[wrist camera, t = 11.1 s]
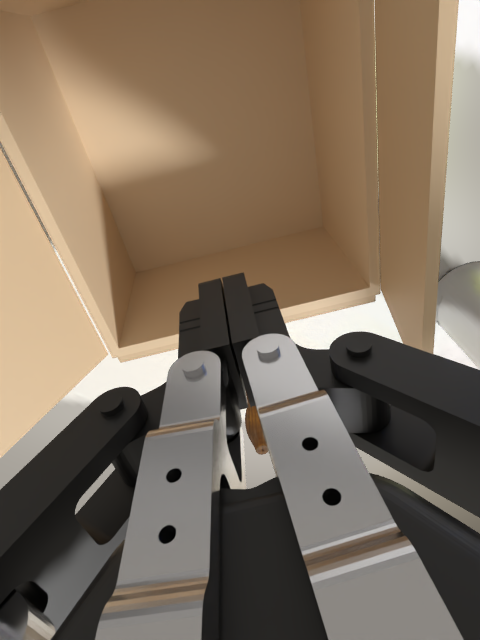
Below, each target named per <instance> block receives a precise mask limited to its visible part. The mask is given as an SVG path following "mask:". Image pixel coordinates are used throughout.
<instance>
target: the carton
mask: <svg viewBox="0 0 480 640" xmlns="http://www.w3.org/2000/svg"><path fill="white" fill-rule="evenodd" d="M376 122H377V121H376V76H375V30H374V0H0V142H1V143H2V145H3V147H4V149H5V151H6V153H7V155H8V157H9V159H10V161H11V163H12V165H13V167H14V169H15V171H16V172H17V174H18V176H19V178H20V180H21V182H22V184H23V186H24V188H25V190H26V192H27V194H28V196H29V198H30V199H31V201H32V203H33V205H34V207H35V209H36V211H37V213H38V215H39V217H40V219H41V221H42V223H43V225H44V226H45V228H46V230H47V232H48V234H49V236H50V238H51V240H52V242H53V244H54V246H55V248H56V250H57V252H58V253H59V255H60V257H61V259H62V261H63V263H64V265H65V267H66V269H67V271H68V273H69V275H70V277H71V279H72V280H73V282H74V284H75V286H76V288H77V290H78V292H79V294H80V296H81V298H82V300H83V302H84V304H85V306H86V307H87V309H88V311H89V313H90V315H91V317H92V319H93V321H94V323H95V325H96V327H97V329H98V331H99V333H100V335H101V336H102V338H103V340H104V342H105V344H106V346H107V348H108V350H109V352H110V354H111V356H112V358H116V357H118V359H119V361H120V363H121V362H125V361H130V360H134V359H138V358H142V357H146V356H150V355H154V354H159V353H163V352H167V351H171V350H175V349H178V346H179V312H180V311H181V309H182V308H183V306H184V304H185V303H186V302H188V301H192V300H196V299H199V289H198V284H199V283H202V282H206V281H210V280H214V279H218V278H221V281H222V277H226V276H230V275H234V274H238V273H242V272H244V275H245V279H246V283H247V287H249V286H253V285H257V284H261V283H264V284H266V285H267V286H268V287H270V288H271V289H273V292H274V294H275V297H276V301H277V303H278V306H279V308H280V311H281V314H282V317H283V320H284V323H287V322H291V321H295V320H300V319H304V318H308V317H312V316H316V315H320V314H325V313H329V312H333V311H337V310H341V309H345V308H349V307H354V306H358V305H362V304H366V303H370V302H374V301H375V295H377V294H380V258H379V213H378V172H377V171H378V168H377V123H376ZM222 284H223V281H222ZM223 288H224V287H223Z"/></svg>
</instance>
